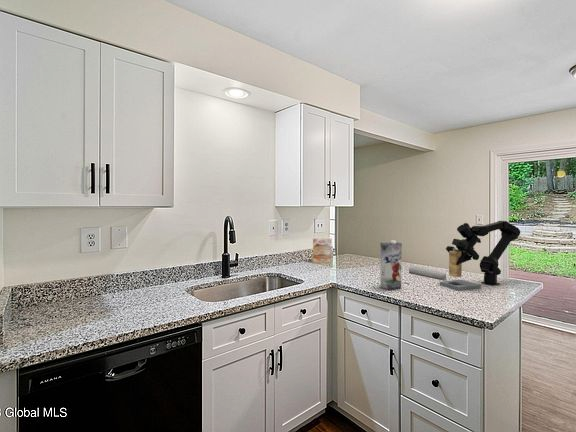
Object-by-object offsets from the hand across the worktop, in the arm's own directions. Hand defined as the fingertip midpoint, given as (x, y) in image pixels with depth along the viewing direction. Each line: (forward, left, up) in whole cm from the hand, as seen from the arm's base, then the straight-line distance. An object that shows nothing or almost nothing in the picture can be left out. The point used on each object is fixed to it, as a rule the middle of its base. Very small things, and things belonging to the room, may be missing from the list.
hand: (453, 263), depth 173 cm
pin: (-1, 0, -7) cm, 7 cm away
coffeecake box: (+38, -96, -14) cm, 104 cm away
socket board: (-5, 0, -13) cm, 14 cm away
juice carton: (+34, -10, -14) cm, 38 cm away
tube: (-7, -28, -14) cm, 32 cm away
